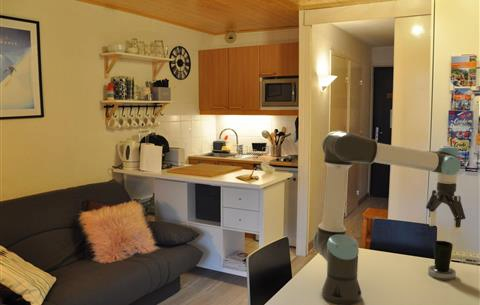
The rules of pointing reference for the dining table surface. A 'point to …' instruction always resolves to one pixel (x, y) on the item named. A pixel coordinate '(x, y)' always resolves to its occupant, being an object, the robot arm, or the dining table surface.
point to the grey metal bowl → (442, 274)
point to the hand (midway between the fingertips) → (443, 229)
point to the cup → (442, 255)
